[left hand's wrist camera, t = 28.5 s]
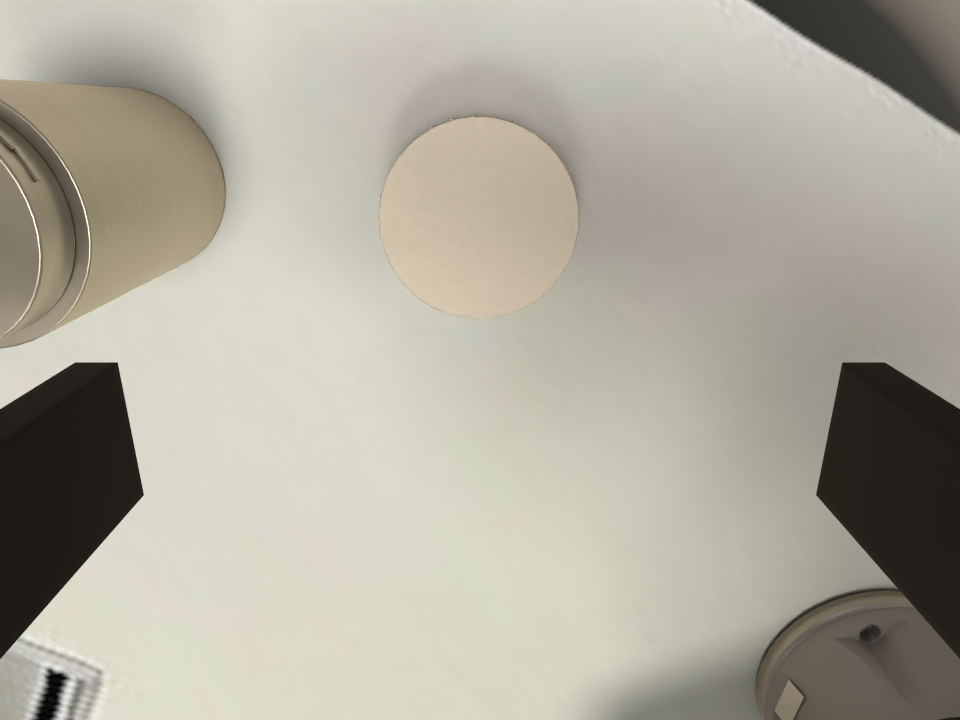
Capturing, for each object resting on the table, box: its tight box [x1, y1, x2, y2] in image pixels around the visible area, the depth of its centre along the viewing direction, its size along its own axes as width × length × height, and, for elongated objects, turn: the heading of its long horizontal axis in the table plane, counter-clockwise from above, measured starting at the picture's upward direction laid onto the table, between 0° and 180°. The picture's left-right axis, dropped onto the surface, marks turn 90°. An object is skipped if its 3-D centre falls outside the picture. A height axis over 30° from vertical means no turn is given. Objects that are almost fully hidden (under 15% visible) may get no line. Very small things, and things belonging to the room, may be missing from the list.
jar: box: [0, 79, 225, 348], centre depth 29 cm, size 10×10×16 cm
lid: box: [378, 115, 579, 319], centre depth 36 cm, size 10×10×2 cm
